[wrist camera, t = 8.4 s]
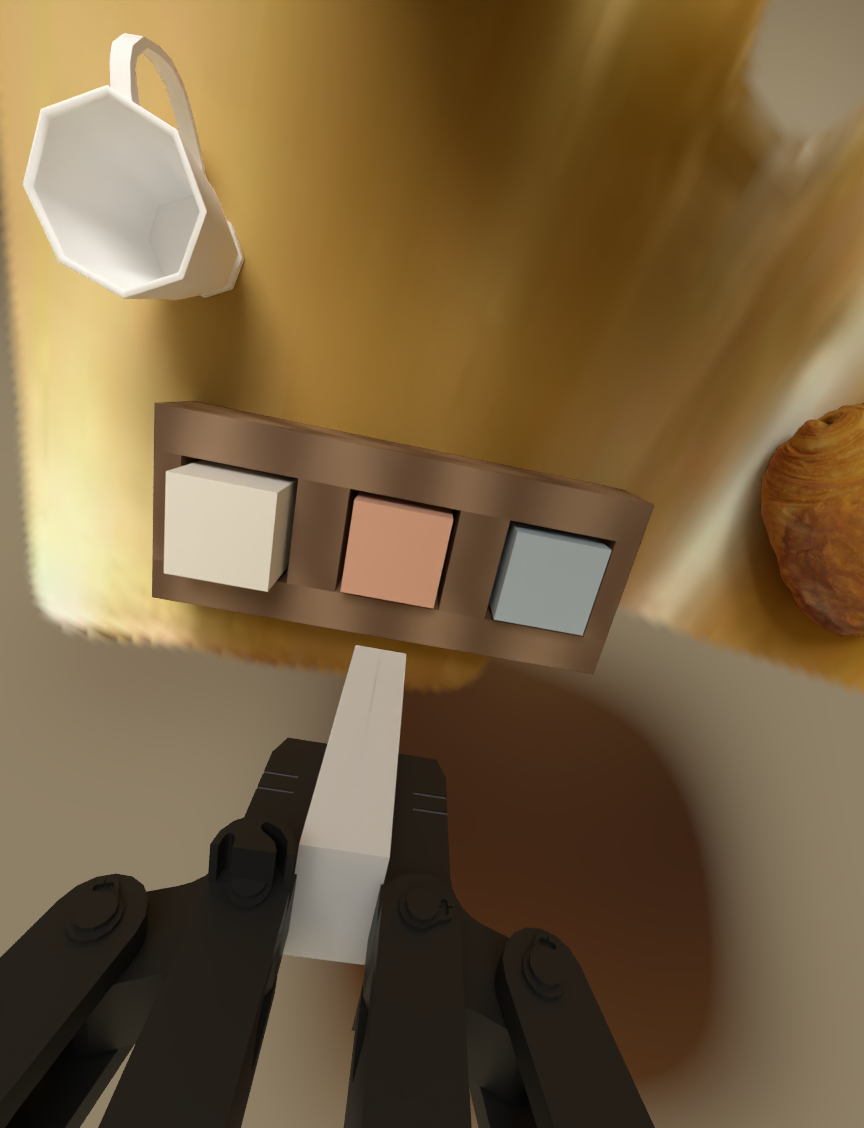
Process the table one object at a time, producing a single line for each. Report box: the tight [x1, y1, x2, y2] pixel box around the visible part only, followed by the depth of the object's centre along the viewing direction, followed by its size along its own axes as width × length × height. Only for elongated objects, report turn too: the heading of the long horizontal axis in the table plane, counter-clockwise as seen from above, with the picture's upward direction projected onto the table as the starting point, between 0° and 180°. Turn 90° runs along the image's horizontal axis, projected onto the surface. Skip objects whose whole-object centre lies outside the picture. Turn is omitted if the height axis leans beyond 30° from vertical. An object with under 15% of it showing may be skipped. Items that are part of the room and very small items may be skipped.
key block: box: [152, 401, 654, 674], centre depth 30 cm, size 27×11×4 cm, turn 79°
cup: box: [23, 33, 244, 300], centre depth 22 cm, size 7×10×8 cm
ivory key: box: [164, 460, 298, 592], centre depth 27 cm, size 5×5×4 cm
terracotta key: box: [340, 491, 453, 608], centre depth 29 cm, size 5×5×4 cm
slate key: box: [489, 520, 612, 636], centre depth 30 cm, size 5×5×4 cm
